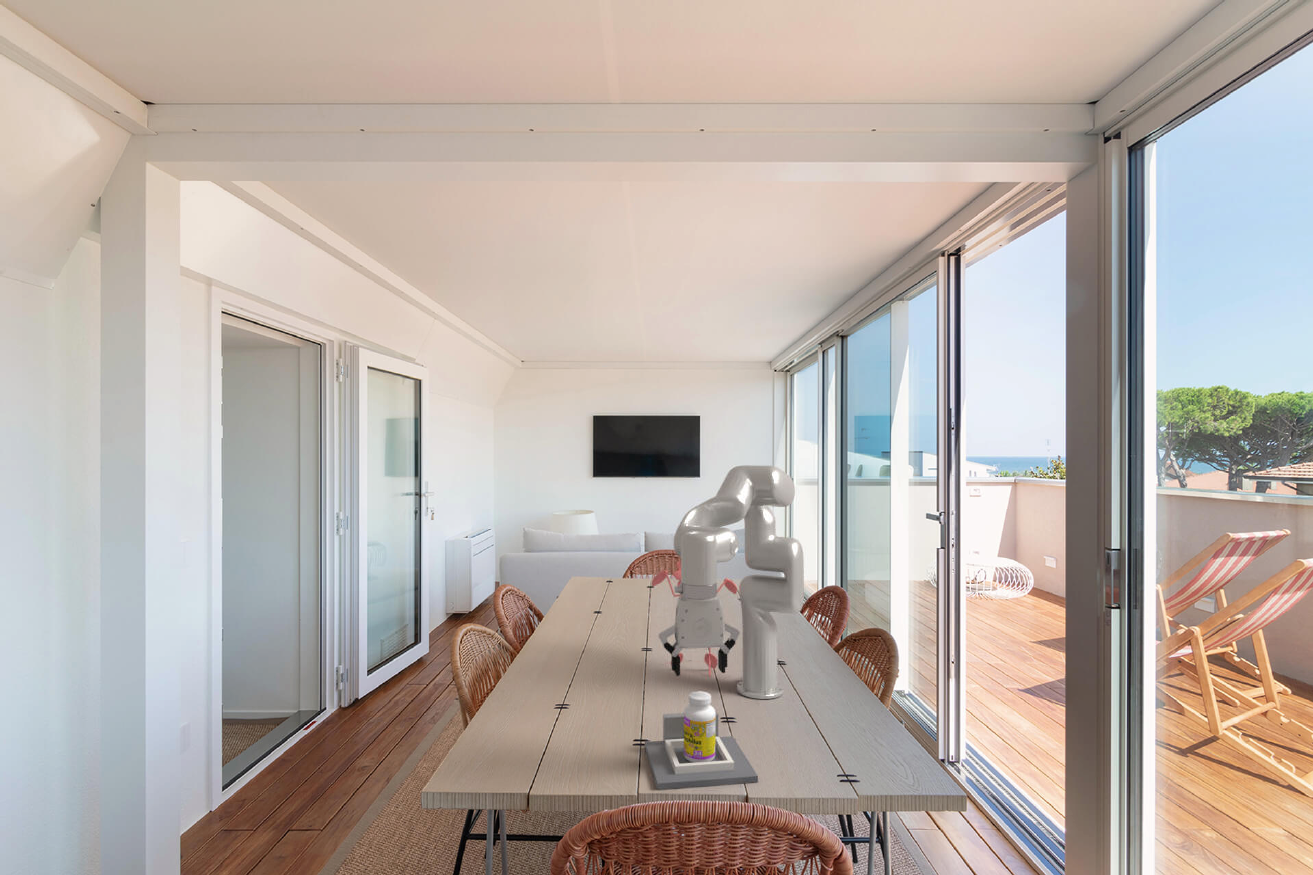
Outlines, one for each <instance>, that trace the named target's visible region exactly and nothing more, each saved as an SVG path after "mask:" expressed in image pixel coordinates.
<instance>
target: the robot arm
mask: <svg viewBox="0 0 1313 875" xmlns="http://www.w3.org/2000/svg"><path fill="white" fill-rule="evenodd" d="M795 496H796V487H795V483H794V481H793V479H792V477H791V476H790V475H789V474H787V473H786V472H785V471H784V470H782V469H781V468H779V467H777V466H772V465H748V464H747V465H737V466H735V467H732V468H731V469H730V470H729V471H728V472H727V474H726V476H725V477H724V480H723V481H722V484H721V486H720V488H719V490H718V491H717V493H716V495H715V496H714V497H711V498H709V499H707V500H705V501H703V502H701V503H700V504H698V505H696V506H694V507H693V508H691V509H690V510H689V511H688V512H686V514H684V516H683V518H682V520H681V521H680V523H679V524H678V527H677V528H676V530H675V533H674V537H673V549H674V552H675V553H676V555H677V556H678V557H680V562H681V582H680V586H677V585H675V586H674V588H673V591H674V594H677V593H678V594H681V596H677V597H678V598H677V602H676V608H675V619H674V624H673V625H671V626H670V627H668V628H667V629H665V630H663V631H661V632H659V633H658V638H659V640H660V641H661V644H662V646H663V648H664V649H665V650H666V651H667V652H668V653H669V654H670V655H671V660H672V666H671V671H672V672H673V671H674V673H675V676H676V677H680V676H681V663H680V656H679V655H678V654H679V653H681V651H682V650H683V649H686V650H687V649H691V650H692V649H709V648H710V647H711V648H716V647H717V648H718V647H719V649H718V650H717V661H718V664H717V666H718V670H719V671H720V672H721V673H722V674H726V668H728V654H729V653H730V650H731V649H732V648H733V647H734V646H735V645H736V643H737V642H736V641H737V640H738V638H739V636H740V631H739V630H738V628H735V627H733V626H731V625H729V624H727V623H725V616H724V608H723V603H722V598H721V597H720V595H718V593H717V590H718V585H717V584H718V583H717V579H718V578H717V576H718V575H717V572H718V571H717V563H726V562H729V561H731V560H732V559H734V557H735V556H736V554H738V553H737V552H738V550H739V539H738V536H737V534H736V533H735V531H733V530H732V529H730V528H728V527H726V526H729V525H732V524H736V523H738V522H740V521H741V520H742V521H743V520H744V559H745V564H746V565H747V567H748V568H749V569H752V570H756V571H762V572H772V573H773V572H774V573H783V574H784V576H774V575H765V574H750V575H747V576H745V577H743V578H742V579H741V581H740V583H739V585H738V586H739V587H738V588H739V589H738V595H739V601H740V607H741V617H742V680H741V681H739V682H738V683H737V684H736V691H737V693H738V694H740V695H741V696H745V697H747V698H750V699H751V698H752V699H757V700H758V699H759V700H771V699H776V698H779V697H781V696H783V694H784V687H783V686H782V685H781V684H780V683H778V626H777V623H776V621H775V619H774V617H773V616H772V614H771V613H779V614H791V615H792V614H793V615H795V614H799V613H800V612H801V611H802V609H803V606H804V601H805V600H804V598H805V584H804V583H805V582H804V580H805V576H804V573H805V572H804V571H805V570H804V568H805V567H804V565H805V563H804V562H805V561H804V550H803V546H802V544H801V542H800V541H799V540H798V539H796V538H794V537H788V536H787V537H786V536H777V532H776V517H775V514H774V513H773V511H772V510H771V508H770V507H775V508H776V507H777V508H778V507H779V508H787V507H789V506H790V505H791V504H792V503H793V501H794V500H795ZM726 633H729V634H730V636H729V637H728V638H727V640H726ZM673 635H674V640H675V641H674V642H673V644H672V645H671V643H670V642H669V641H668V638H669V637H671V636H673ZM671 660H670V661H671ZM679 675H680V676H679Z"/></svg>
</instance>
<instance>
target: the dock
mask: <svg viewBox="0 0 1313 875" xmlns="http://www.w3.org/2000/svg"><path fill="white" fill-rule="evenodd" d="M715 713H716V726H715V758H714V759H713V760H712V761H711V762H698V763H692V762H690V761H688V760H687V759H686V758H685V757H684V712H678V713H663V715H662V716H663V717H662V720H663V721H662V724H663V725H662V740H655V741H645V742H644V749H645V753H646V755H647V759H648V763H649V766H650V769H651V773H652V775H653V779H654V783H655V785H656V786H655V787H656V789H657V791H660V790H661V791H662V790H673V789H674V790H675V789H676V790H677V789H685V788H686V789H687V788H700V787H713V786H724V784H725V786H726V784H728V785H737V784H736V783H741V784H751V783H750V782H754V783H759V775H758V773H757V772H756V770H755V769H754V768H753V766H752V765H751V762H750V761H749V759H748V758H747V756H746V754H745V753H744V752H743V750H742V749H741V747H740V745H739V744H738V743H737V741H736V739H735V737H734V736H733V735H732V736H730V735H729V736H721V737H720V736H719V714H718V712H717V711H716V710H715ZM746 782H747V783H746Z"/></svg>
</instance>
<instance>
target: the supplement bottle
mask: <svg viewBox="0 0 1313 875" xmlns="http://www.w3.org/2000/svg"><path fill="white" fill-rule="evenodd" d="M688 703H689V704H688V705H687V706H686V707H685V708H684V711H683V713H684V757H685V758H686V759H687V760H688V761H690V762H692V763H698V762H711V761H712V760H713V759H714V758H715V726H716V713H715V711H716V710H715V708H714V707H713V706H712V705H711V703H712V694H710V693H709V692H706V691H701V690H698V691H692V692H690V693H689V694H688Z"/></svg>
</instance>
